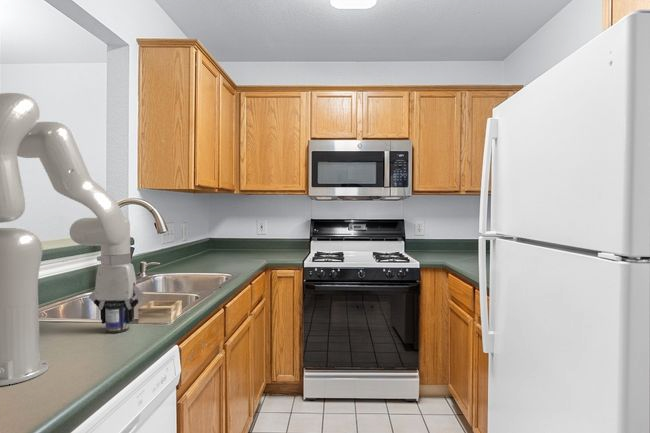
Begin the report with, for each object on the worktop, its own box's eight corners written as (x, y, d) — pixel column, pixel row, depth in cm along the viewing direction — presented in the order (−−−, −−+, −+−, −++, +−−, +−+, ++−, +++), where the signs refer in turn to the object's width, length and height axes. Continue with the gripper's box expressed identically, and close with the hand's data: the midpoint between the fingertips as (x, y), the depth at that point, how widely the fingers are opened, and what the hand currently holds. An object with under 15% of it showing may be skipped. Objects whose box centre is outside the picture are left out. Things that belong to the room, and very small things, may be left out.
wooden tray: (171, 322, 126) (171, 308, 126) (138, 323, 126) (138, 308, 126) (181, 314, 136) (181, 300, 136) (151, 314, 136) (151, 300, 136)
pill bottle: (123, 326, 123) (122, 289, 123) (133, 330, 119) (132, 292, 119) (101, 331, 118) (101, 293, 118) (111, 335, 114) (110, 296, 114)
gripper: (78, 262, 114) (79, 326, 115) (140, 262, 114) (142, 325, 115) (92, 258, 122) (94, 318, 122) (151, 258, 122) (152, 318, 123)
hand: (117, 321), depth 119 cm, fingers closed on pill bottle, 6 cm apart
